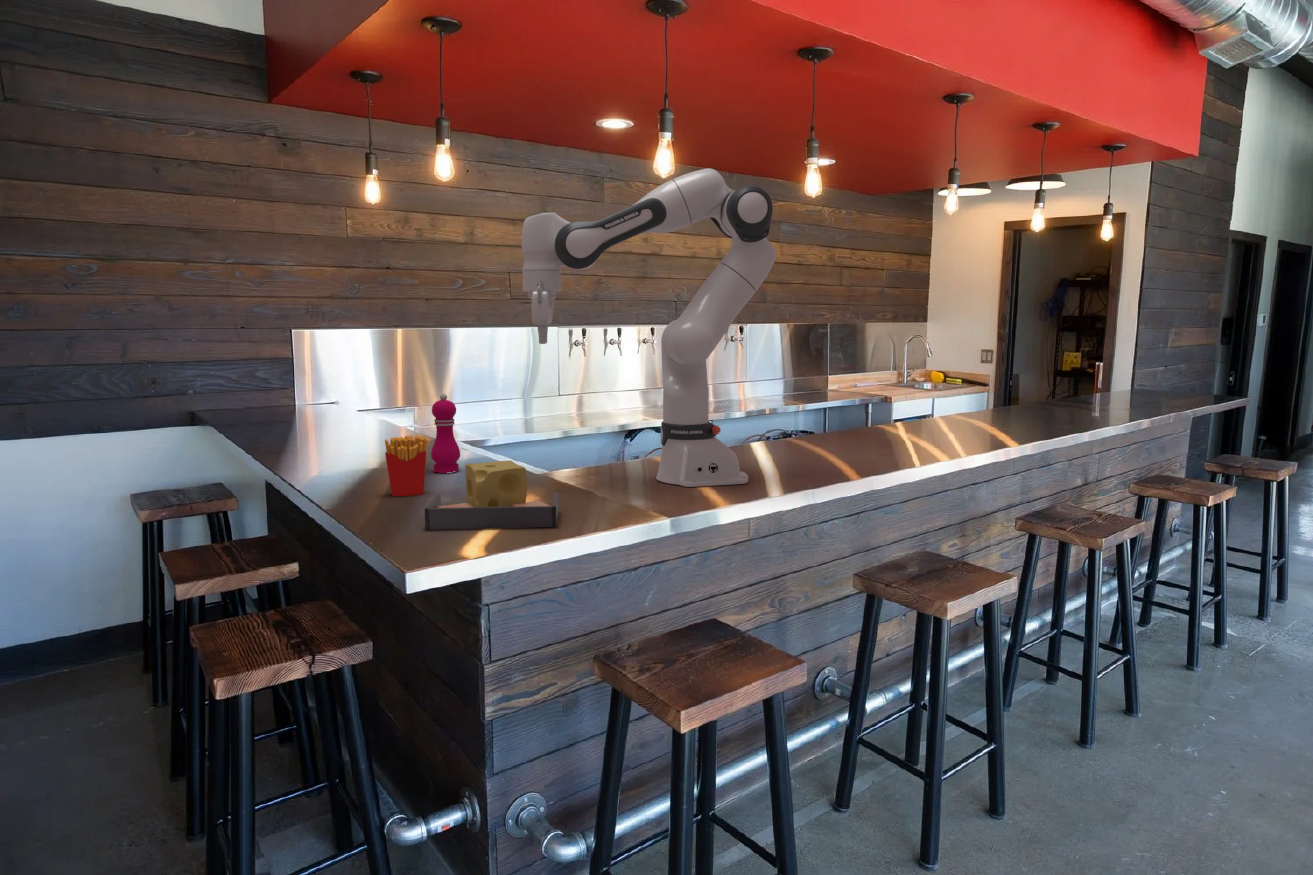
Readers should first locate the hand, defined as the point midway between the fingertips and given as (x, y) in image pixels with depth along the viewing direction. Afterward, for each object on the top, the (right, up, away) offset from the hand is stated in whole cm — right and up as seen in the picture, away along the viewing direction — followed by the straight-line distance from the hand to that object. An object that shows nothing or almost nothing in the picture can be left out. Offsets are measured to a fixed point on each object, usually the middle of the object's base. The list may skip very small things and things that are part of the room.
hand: (543, 343), depth 187 cm
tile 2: (+2, -39, -29) cm, 49 cm away
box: (-5, -38, -31) cm, 50 cm away
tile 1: (-12, -39, -31) cm, 51 cm away
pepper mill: (-27, -31, +17) cm, 44 cm away
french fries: (-29, -35, -8) cm, 46 cm away
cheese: (-6, -38, -24) cm, 45 cm away
